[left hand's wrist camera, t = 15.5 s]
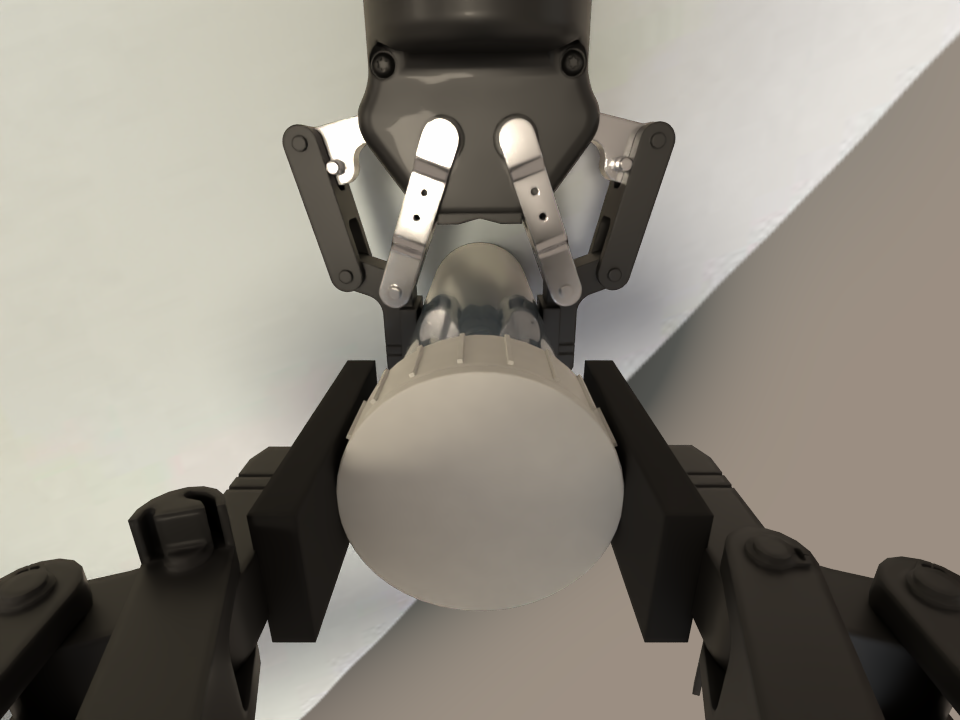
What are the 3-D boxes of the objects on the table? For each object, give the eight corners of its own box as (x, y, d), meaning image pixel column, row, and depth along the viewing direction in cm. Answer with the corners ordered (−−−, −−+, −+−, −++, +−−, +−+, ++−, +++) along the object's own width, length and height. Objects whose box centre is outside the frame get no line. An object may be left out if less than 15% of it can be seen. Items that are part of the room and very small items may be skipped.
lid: (625, 514, 13) (652, 580, 11) (406, 567, 14) (394, 639, 12) (572, 298, 11) (593, 330, 9) (317, 373, 12) (281, 418, 10)
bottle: (455, 346, 28) (421, 602, 12) (418, 263, 26) (319, 430, 10) (539, 314, 27) (625, 539, 11) (507, 227, 26) (553, 344, 10)
